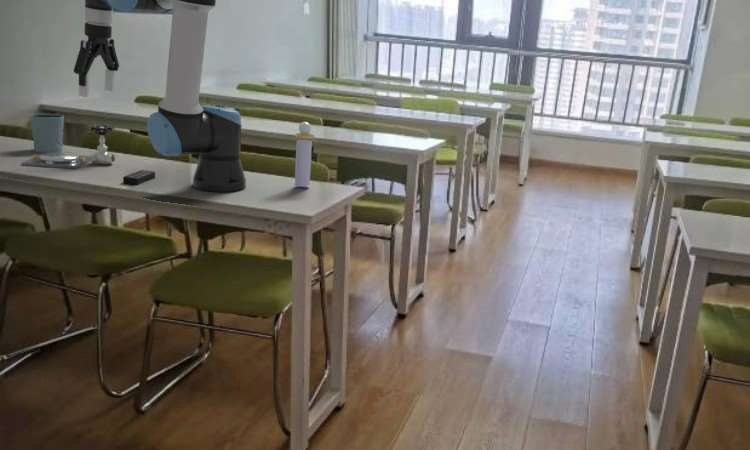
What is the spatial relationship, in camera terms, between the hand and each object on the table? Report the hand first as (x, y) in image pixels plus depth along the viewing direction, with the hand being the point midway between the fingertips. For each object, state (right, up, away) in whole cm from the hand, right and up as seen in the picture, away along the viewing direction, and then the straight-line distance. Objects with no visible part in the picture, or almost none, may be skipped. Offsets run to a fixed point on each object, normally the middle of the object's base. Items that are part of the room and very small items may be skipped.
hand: (96, 93), depth 203 cm
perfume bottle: (+64, -30, -4) cm, 71 cm away
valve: (0, -22, +5) cm, 22 cm away
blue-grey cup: (-24, -16, +18) cm, 34 cm away
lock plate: (-13, -21, +3) cm, 25 cm away
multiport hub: (+18, -29, -12) cm, 36 cm away
